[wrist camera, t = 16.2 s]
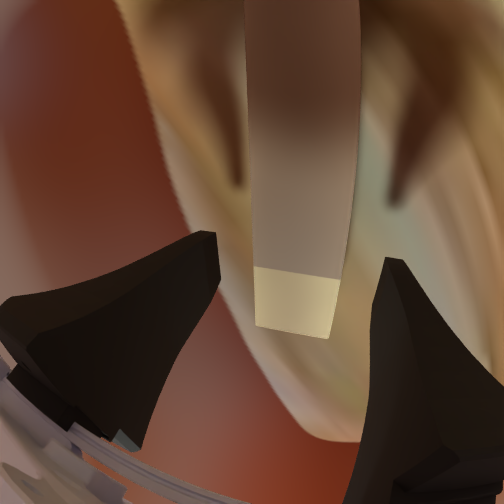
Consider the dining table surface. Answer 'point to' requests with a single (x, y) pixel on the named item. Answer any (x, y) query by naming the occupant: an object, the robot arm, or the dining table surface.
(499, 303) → the dining table surface
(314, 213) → the capped rod
